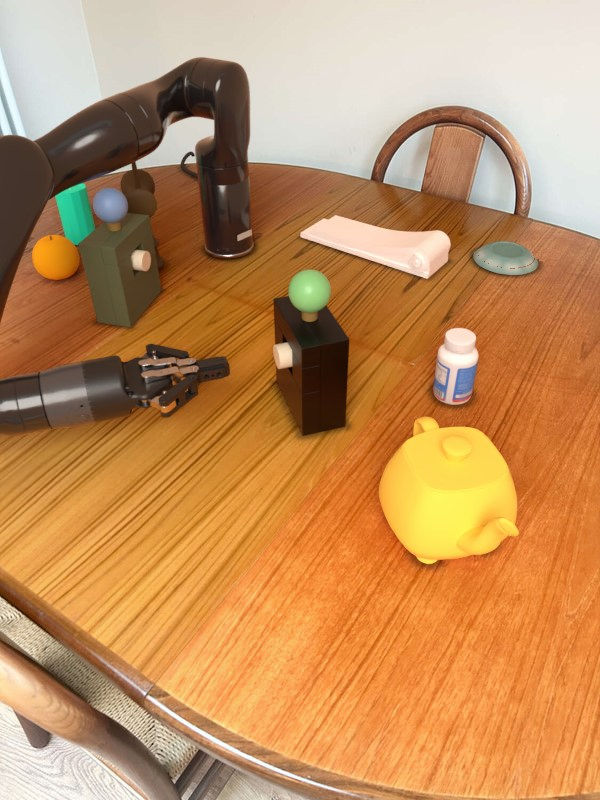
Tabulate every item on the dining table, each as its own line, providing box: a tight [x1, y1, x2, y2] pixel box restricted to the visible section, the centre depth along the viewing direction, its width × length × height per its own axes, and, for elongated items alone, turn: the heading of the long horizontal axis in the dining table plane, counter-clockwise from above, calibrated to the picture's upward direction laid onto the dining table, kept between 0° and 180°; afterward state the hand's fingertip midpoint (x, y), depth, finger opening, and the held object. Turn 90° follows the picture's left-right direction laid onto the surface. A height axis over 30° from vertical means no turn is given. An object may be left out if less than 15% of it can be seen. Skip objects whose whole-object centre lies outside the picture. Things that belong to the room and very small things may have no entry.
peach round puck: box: [130, 250, 151, 271], centre depth 104 cm, size 2×3×3 cm
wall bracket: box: [300, 214, 451, 280], centre depth 124 cm, size 10×7×28 cm
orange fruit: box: [31, 234, 81, 281], centre depth 117 cm, size 8×8×8 cm
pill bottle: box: [432, 327, 479, 406], centre depth 89 cm, size 6×5×10 cm
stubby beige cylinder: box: [272, 342, 292, 369], centre depth 84 cm, size 2×3×3 cm
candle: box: [54, 182, 96, 246], centre depth 127 cm, size 6×6×12 cm
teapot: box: [378, 416, 520, 565], centre depth 69 cm, size 14×20×13 cm
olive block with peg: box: [78, 186, 162, 328], centre depth 104 cm, size 6×12×20 cm, turn 165°
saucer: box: [472, 240, 539, 276], centre depth 122 cm, size 12×12×2 cm
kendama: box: [120, 161, 165, 270], centre depth 115 cm, size 6×10×20 cm, turn 13°
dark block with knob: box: [272, 268, 350, 437], centre depth 84 cm, size 6×12×20 cm, turn 18°
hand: (228, 365), depth 82 cm, fingers closed
